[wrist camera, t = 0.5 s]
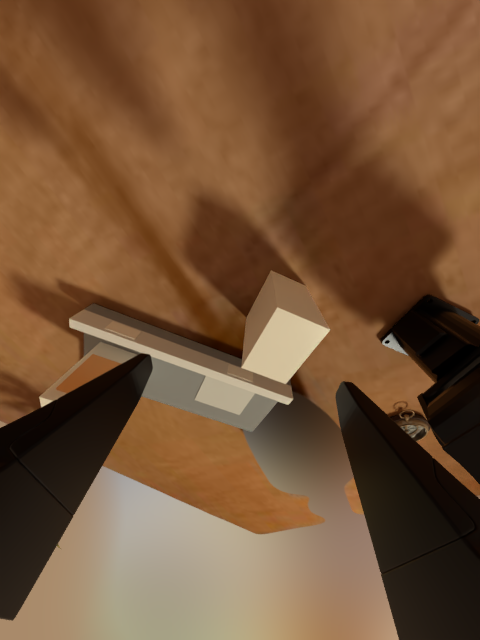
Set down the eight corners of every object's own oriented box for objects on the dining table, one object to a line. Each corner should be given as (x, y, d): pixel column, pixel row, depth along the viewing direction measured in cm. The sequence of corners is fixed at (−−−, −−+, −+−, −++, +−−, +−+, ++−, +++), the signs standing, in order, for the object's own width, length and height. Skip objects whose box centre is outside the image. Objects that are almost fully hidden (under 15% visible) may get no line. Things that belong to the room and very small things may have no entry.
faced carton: (100, 340, 24) (38, 395, 18) (149, 357, 25) (108, 416, 18) (99, 363, 26) (43, 420, 20) (144, 378, 27) (105, 438, 20)
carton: (308, 287, 20) (333, 331, 14) (279, 330, 23) (288, 385, 17) (271, 270, 20) (277, 307, 13) (246, 317, 23) (241, 367, 16)
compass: (425, 433, 31) (467, 492, 25) (369, 439, 33) (395, 495, 27) (429, 400, 27) (479, 460, 21) (366, 409, 29) (394, 466, 23)
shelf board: (290, 376, 27) (293, 398, 24) (252, 423, 33) (251, 445, 30) (93, 302, 23) (68, 317, 20) (91, 369, 30) (72, 388, 27)
